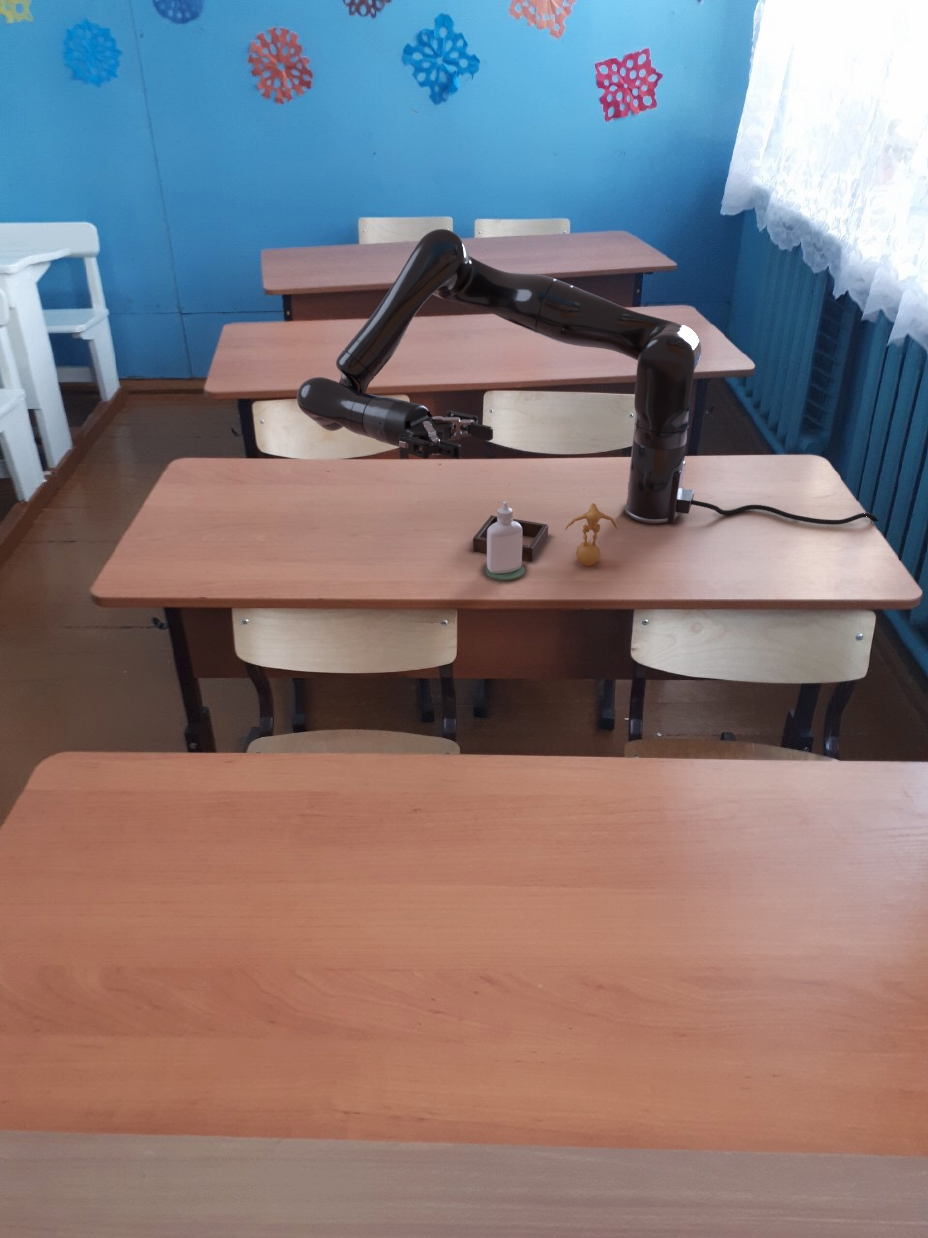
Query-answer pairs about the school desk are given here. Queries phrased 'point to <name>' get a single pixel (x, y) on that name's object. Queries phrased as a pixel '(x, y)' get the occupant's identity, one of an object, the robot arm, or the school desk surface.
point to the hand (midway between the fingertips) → (476, 442)
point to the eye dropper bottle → (504, 543)
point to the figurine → (589, 550)
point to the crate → (527, 529)
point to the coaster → (506, 574)
